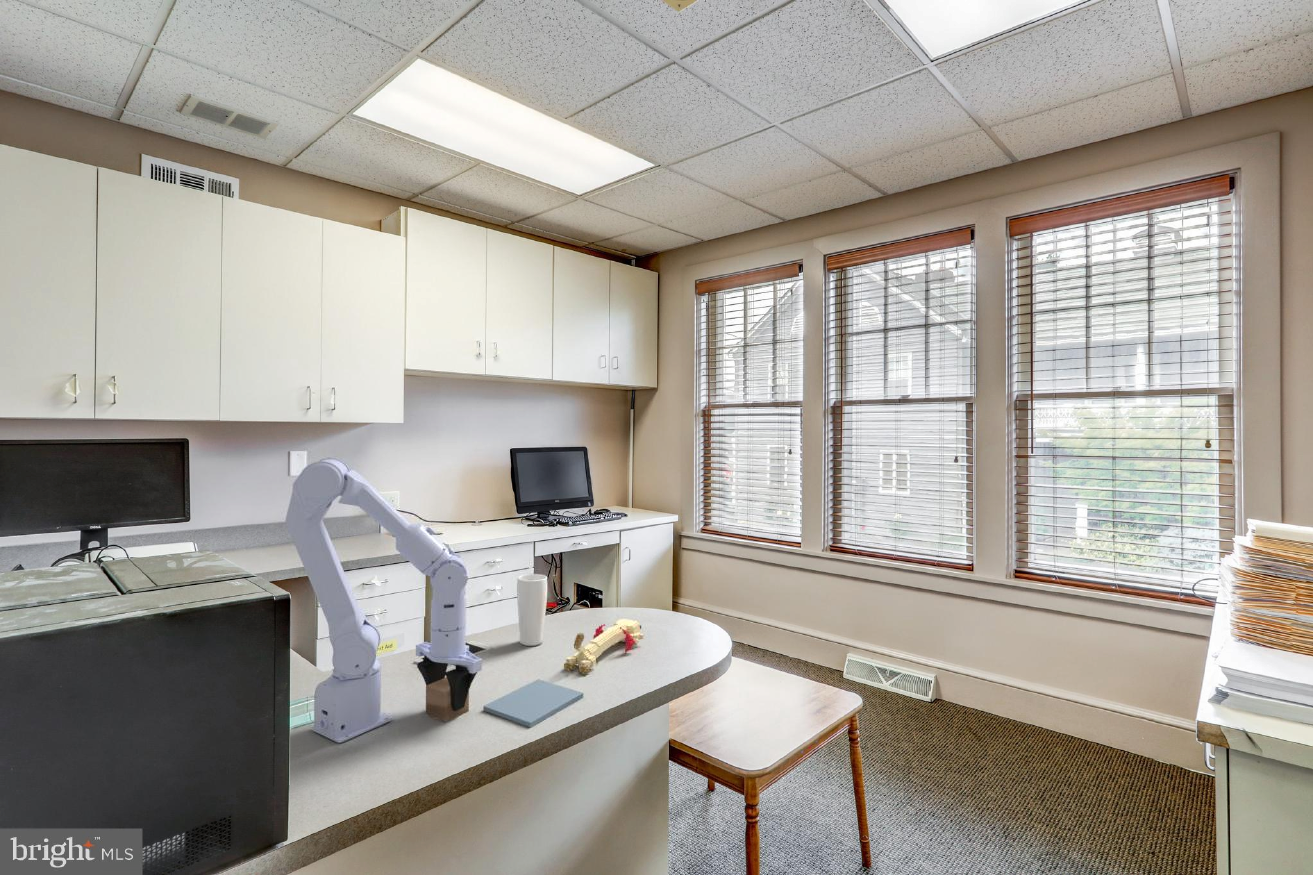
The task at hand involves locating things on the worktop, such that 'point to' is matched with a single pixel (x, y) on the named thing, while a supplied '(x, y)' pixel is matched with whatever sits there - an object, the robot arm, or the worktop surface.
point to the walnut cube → (442, 701)
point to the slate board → (533, 702)
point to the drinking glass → (531, 608)
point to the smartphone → (470, 649)
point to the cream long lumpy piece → (603, 643)
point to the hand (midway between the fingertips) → (447, 704)
